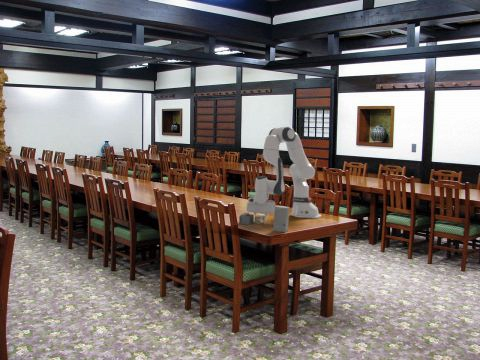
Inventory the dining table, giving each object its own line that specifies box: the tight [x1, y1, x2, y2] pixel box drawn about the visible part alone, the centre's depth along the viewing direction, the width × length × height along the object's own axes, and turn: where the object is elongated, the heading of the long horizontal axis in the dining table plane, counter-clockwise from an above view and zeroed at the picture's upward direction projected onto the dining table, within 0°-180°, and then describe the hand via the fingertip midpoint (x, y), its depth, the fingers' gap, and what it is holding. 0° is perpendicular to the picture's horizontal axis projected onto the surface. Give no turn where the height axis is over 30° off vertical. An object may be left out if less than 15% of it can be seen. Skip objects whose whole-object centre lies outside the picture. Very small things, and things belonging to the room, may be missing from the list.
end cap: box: [238, 212, 255, 225], centre depth 346 cm, size 7×9×6 cm
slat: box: [254, 213, 267, 225], centre depth 352 cm, size 14×4×4 cm, turn 159°
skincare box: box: [272, 205, 290, 233], centre depth 323 cm, size 8×7×16 cm
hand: (260, 219), depth 352 cm, fingers closed on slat, 4 cm apart
